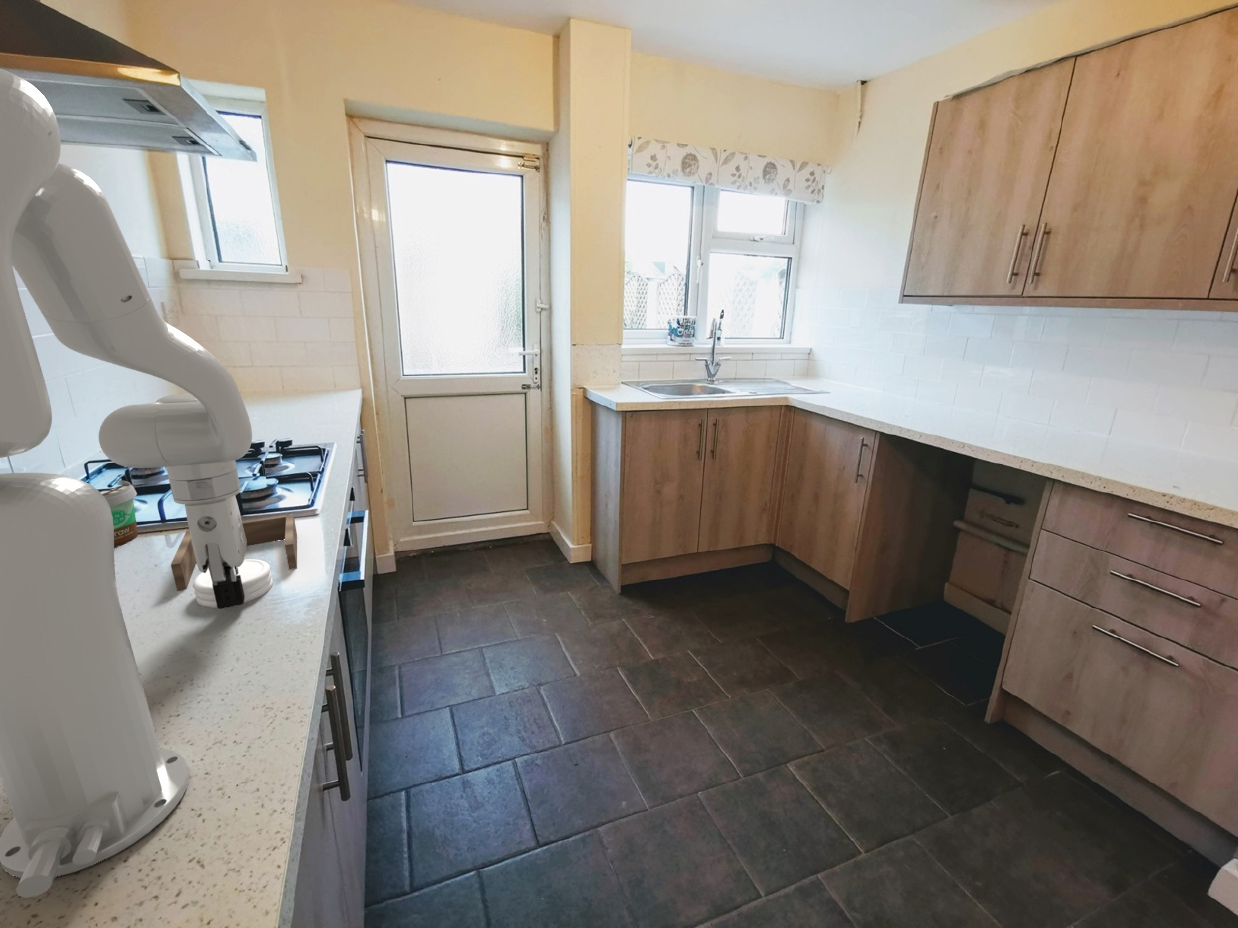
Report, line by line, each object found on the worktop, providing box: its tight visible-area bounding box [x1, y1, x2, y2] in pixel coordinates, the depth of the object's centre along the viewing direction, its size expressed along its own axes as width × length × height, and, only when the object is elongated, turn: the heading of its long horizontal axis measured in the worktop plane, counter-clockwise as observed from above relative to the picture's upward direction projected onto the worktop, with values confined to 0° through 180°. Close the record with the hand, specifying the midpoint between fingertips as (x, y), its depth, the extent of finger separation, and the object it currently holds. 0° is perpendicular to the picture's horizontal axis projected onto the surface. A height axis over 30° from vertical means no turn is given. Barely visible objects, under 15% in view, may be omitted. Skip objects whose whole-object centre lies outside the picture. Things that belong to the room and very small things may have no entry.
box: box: [170, 513, 298, 592], centre depth 97 cm, size 15×16×4 cm
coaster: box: [192, 558, 274, 609], centre depth 87 cm, size 10×10×4 cm
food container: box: [98, 480, 139, 548], centre depth 103 cm, size 12×6×10 cm, turn 168°
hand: (231, 603), depth 82 cm, fingers closed
